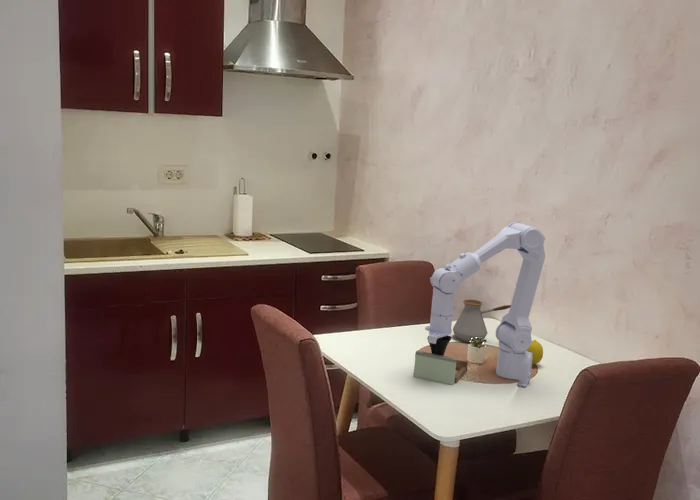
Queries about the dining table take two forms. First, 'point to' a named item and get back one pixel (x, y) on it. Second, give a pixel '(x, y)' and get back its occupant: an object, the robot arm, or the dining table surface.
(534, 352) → the lemon
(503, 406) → the dining table surface
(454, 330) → the coffee pot
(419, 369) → the panel
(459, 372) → the tray
